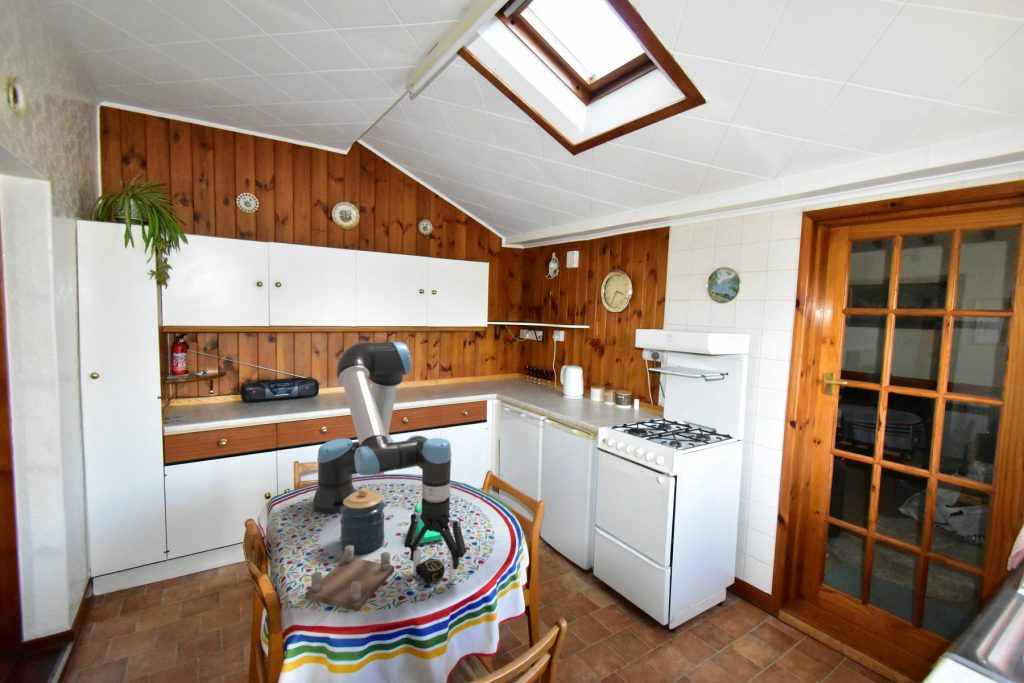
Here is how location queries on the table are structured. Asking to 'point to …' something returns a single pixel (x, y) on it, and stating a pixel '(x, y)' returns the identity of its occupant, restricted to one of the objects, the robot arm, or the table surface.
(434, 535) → the camera mount
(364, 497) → the canister
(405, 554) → the table surface
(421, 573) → the tape measure
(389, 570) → the pin board
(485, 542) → the table surface
